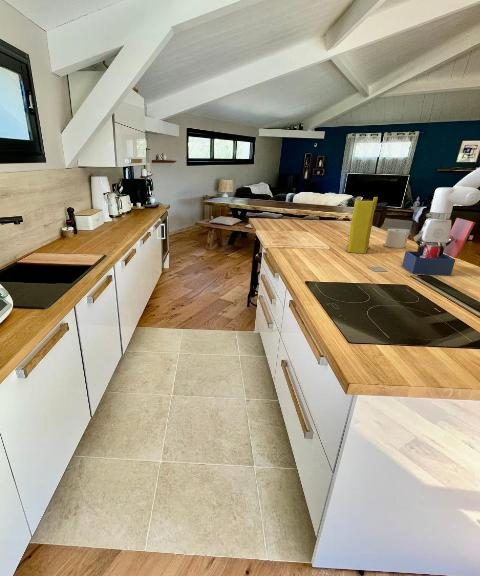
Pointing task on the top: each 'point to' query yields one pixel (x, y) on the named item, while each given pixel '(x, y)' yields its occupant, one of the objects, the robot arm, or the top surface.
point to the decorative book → (361, 225)
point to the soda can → (430, 250)
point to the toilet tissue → (396, 238)
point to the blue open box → (428, 264)
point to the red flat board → (458, 237)
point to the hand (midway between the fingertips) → (429, 254)
